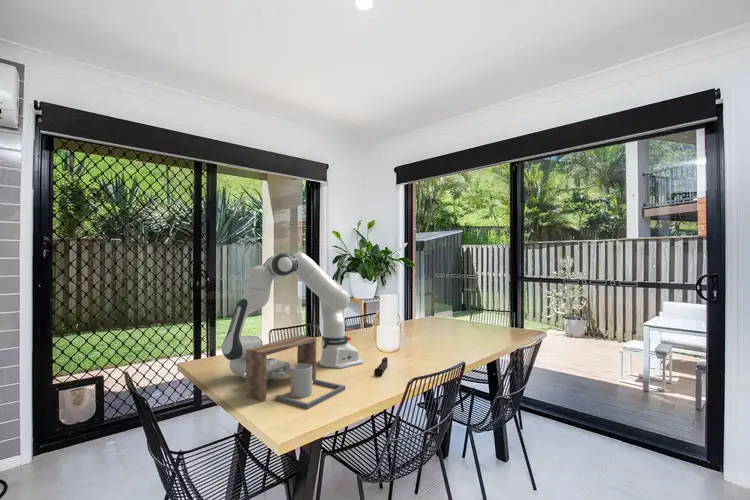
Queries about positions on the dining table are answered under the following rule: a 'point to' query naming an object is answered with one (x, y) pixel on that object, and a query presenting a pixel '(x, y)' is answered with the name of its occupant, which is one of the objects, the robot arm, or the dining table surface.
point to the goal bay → (308, 405)
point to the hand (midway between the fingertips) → (282, 374)
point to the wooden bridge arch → (258, 362)
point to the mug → (301, 380)
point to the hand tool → (381, 367)
